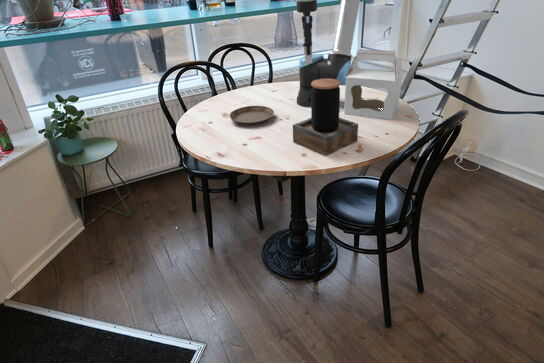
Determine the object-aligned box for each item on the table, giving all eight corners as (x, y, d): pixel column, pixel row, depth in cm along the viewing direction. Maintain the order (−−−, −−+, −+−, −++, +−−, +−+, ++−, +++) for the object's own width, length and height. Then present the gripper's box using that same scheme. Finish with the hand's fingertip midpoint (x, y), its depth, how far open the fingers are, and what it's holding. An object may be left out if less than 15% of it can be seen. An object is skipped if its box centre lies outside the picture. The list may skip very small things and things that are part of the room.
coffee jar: (341, 123, 150) (342, 78, 141) (336, 134, 141) (337, 87, 132) (314, 121, 153) (314, 77, 144) (308, 132, 145) (308, 86, 135)
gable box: (343, 114, 175) (346, 52, 161) (352, 105, 185) (355, 46, 171) (391, 120, 165) (399, 55, 151) (398, 110, 175) (406, 48, 161)
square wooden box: (324, 129, 161) (324, 112, 157) (357, 141, 149) (358, 123, 145) (293, 142, 152) (292, 124, 148) (325, 156, 139) (326, 137, 136)
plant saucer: (269, 129, 166) (268, 121, 164) (224, 128, 170) (223, 121, 168) (277, 112, 183) (277, 105, 181) (237, 111, 187) (236, 105, 185)
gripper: (296, -4, 148) (298, 51, 159) (296, 5, 127) (299, 68, 138) (315, -6, 147) (315, 50, 159) (318, 3, 126) (319, 66, 138)
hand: (308, 58), depth 149 cm, fingers open, 13 cm apart
